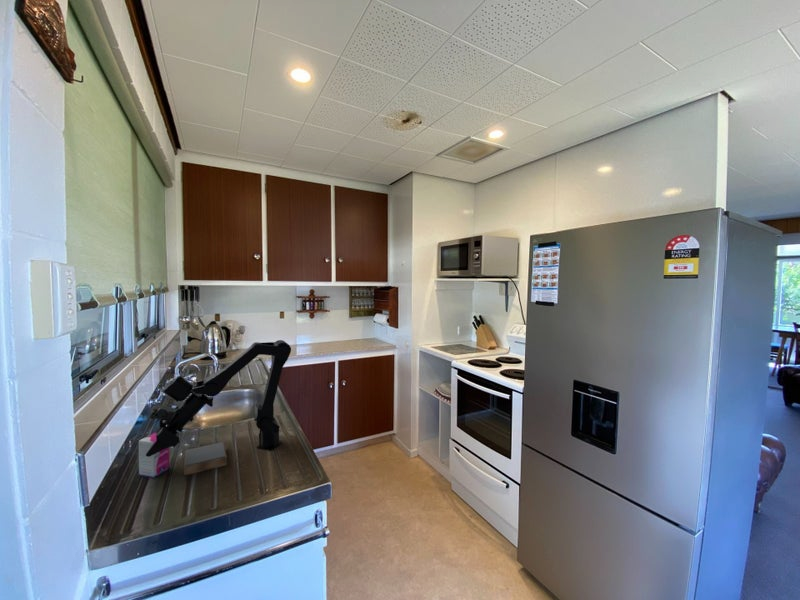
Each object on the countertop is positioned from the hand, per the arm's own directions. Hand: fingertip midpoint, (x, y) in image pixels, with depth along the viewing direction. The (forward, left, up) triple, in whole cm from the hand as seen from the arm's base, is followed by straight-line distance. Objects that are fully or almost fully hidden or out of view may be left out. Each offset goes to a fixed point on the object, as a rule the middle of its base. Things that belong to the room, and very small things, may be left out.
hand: (148, 450), depth 105 cm
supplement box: (-1, -1, -8) cm, 8 cm away
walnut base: (-11, -11, -8) cm, 17 cm away
